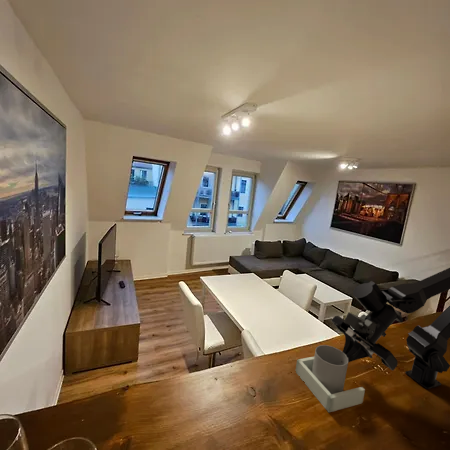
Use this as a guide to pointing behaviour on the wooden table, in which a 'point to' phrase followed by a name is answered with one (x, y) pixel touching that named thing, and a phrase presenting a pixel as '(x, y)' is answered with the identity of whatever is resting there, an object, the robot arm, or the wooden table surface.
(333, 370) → the cup
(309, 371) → the u-shaped wall frame
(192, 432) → the wooden table surface
